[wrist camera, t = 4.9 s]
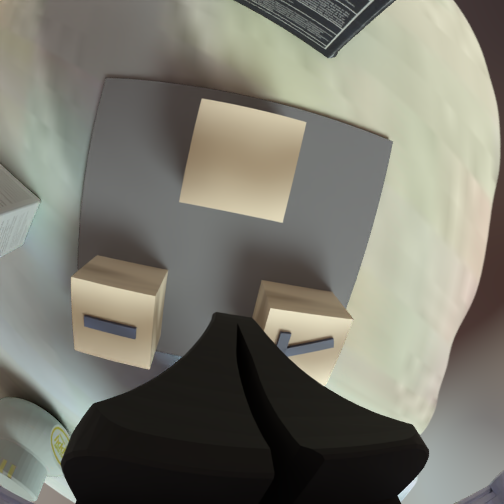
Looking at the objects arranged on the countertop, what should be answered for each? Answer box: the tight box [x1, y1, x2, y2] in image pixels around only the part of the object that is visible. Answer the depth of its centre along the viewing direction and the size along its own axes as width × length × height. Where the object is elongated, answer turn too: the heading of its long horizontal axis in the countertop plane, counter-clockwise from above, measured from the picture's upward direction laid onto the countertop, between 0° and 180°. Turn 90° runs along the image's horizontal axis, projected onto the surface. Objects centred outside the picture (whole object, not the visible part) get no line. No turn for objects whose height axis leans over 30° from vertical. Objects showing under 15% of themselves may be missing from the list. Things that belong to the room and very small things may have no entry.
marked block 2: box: [252, 280, 354, 386], centre depth 19 cm, size 5×5×4 cm
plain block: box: [179, 99, 306, 223], centre depth 15 cm, size 5×5×4 cm
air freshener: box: [0, 397, 70, 501], centre depth 18 cm, size 11×8×10 cm
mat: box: [78, 78, 393, 356], centre depth 19 cm, size 18×19×1 cm
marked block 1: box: [71, 255, 168, 370], centre depth 17 cm, size 5×5×4 cm
